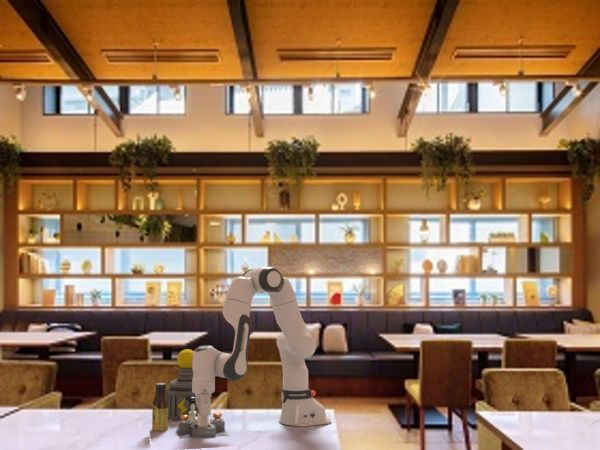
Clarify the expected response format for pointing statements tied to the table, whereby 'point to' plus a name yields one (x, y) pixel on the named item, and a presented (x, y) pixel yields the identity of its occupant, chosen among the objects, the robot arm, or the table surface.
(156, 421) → the sauce bottle
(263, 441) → the table surface
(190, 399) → the valve
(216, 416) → the plunger
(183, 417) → the plunger
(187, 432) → the housing
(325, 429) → the table surface
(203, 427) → the cylinder
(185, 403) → the decorative lamp
